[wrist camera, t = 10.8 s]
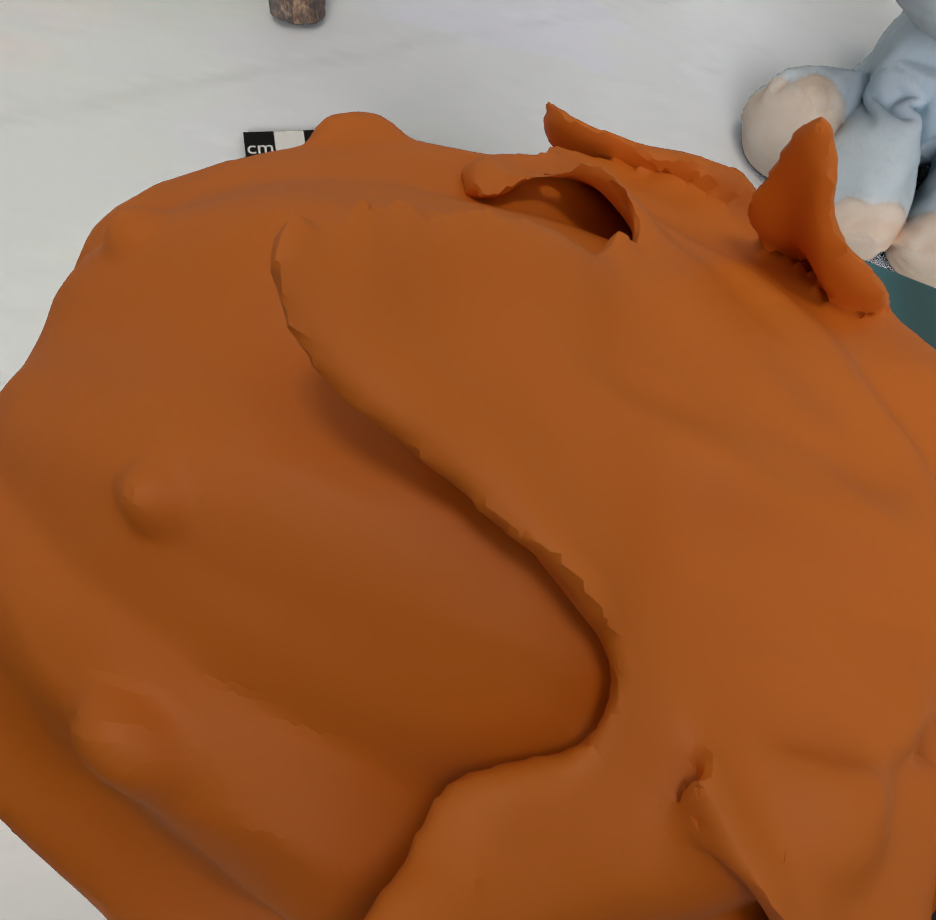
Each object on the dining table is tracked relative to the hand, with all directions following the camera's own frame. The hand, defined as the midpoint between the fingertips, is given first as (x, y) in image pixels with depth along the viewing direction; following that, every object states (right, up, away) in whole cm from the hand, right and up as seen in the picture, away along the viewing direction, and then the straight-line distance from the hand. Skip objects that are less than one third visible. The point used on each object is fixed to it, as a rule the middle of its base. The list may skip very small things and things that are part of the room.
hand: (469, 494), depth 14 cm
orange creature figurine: (-2, -6, +6) cm, 8 cm away
